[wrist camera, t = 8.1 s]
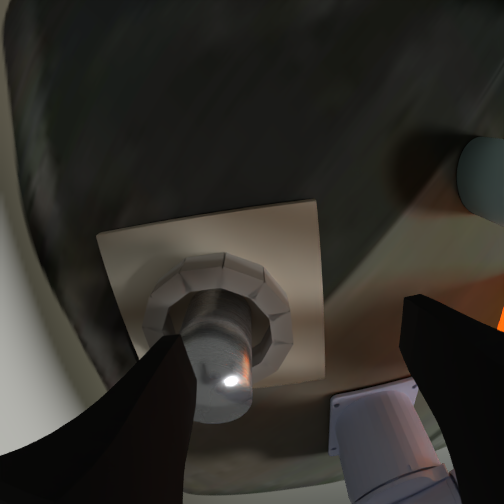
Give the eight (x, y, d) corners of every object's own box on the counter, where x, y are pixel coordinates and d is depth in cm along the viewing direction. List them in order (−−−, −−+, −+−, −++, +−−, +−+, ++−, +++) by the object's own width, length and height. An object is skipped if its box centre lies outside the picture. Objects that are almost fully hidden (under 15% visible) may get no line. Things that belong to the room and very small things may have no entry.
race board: (323, 373, 22) (330, 397, 20) (156, 388, 23) (149, 412, 20) (314, 198, 17) (324, 209, 15) (99, 232, 18) (80, 247, 16)
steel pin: (252, 340, 20) (254, 423, 14) (192, 341, 20) (172, 422, 14) (249, 285, 19) (249, 362, 12) (182, 287, 19) (153, 363, 12)
